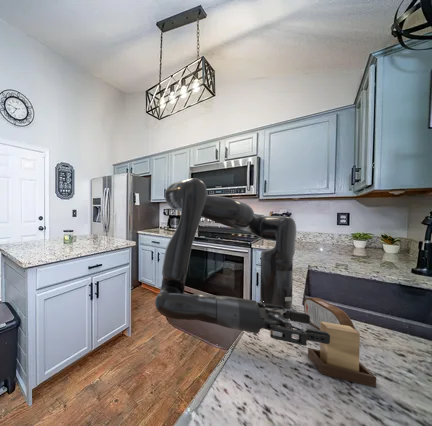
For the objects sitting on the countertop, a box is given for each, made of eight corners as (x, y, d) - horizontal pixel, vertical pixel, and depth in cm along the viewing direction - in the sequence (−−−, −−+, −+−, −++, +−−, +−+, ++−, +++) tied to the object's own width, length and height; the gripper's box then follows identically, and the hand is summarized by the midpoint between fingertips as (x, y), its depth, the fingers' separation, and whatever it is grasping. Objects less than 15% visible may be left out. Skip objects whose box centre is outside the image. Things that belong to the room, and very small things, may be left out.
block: (319, 360, 48) (320, 321, 48) (349, 366, 46) (350, 326, 46) (327, 369, 45) (327, 327, 45) (359, 376, 43) (359, 333, 43)
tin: (356, 349, 52) (357, 316, 52) (341, 347, 53) (342, 314, 53) (312, 319, 67) (312, 293, 67) (301, 318, 68) (301, 292, 68)
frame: (307, 355, 50) (307, 347, 50) (354, 366, 47) (355, 357, 47) (321, 374, 44) (321, 364, 44) (376, 387, 41) (376, 377, 41)
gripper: (240, 310, 46) (338, 327, 40) (231, 289, 60) (304, 299, 53) (240, 343, 46) (337, 365, 40) (231, 315, 60) (303, 328, 53)
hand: (318, 327), depth 47 cm, fingers open, 8 cm apart
